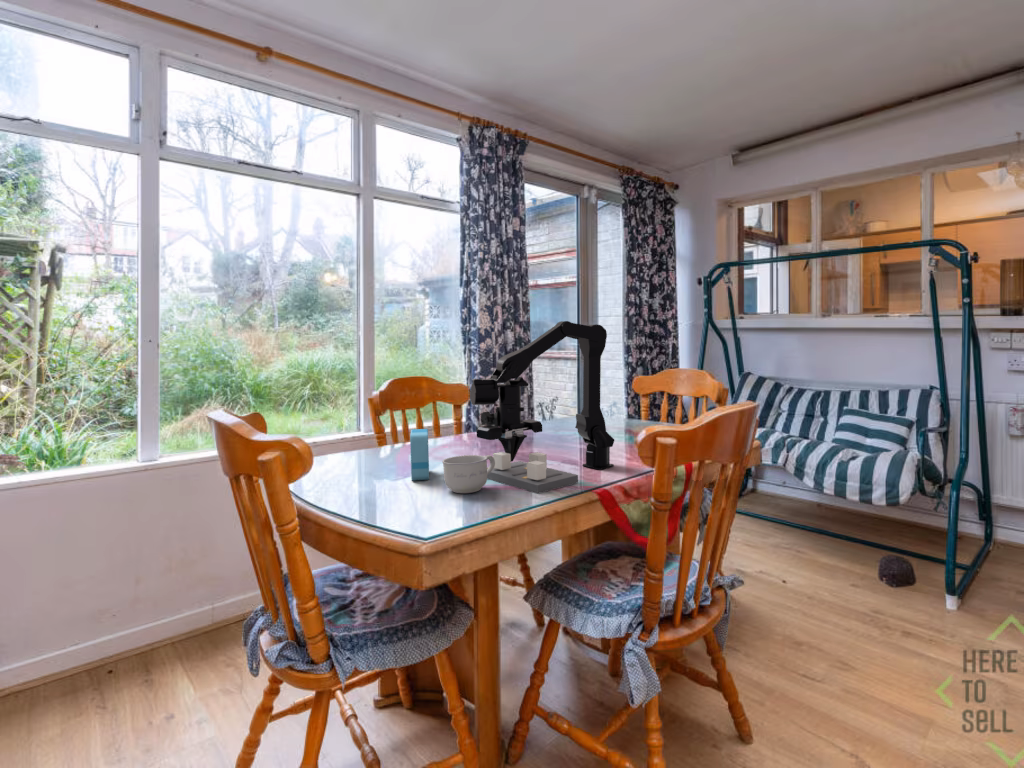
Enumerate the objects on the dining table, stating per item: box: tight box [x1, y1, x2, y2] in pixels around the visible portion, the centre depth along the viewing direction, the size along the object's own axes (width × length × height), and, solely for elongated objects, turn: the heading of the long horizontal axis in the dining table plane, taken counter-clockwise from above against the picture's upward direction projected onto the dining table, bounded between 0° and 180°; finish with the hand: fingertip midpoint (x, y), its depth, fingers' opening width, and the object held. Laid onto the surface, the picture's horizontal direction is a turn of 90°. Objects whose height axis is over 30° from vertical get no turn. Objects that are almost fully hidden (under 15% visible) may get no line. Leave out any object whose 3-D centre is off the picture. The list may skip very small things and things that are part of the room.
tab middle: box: [528, 451, 548, 469], centre depth 152 cm, size 3×4×4 cm
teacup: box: [442, 454, 495, 494], centre depth 141 cm, size 14×11×8 cm
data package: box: [409, 428, 430, 482], centre depth 155 cm, size 12×4×12 cm, turn 8°
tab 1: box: [492, 451, 512, 470], centre depth 153 cm, size 3×4×4 cm
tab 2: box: [526, 461, 546, 480], centre depth 142 cm, size 3×4×4 cm
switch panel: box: [487, 460, 579, 494], centre depth 150 cm, size 14×22×2 cm, turn 41°
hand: (510, 461), depth 155 cm, fingers closed
